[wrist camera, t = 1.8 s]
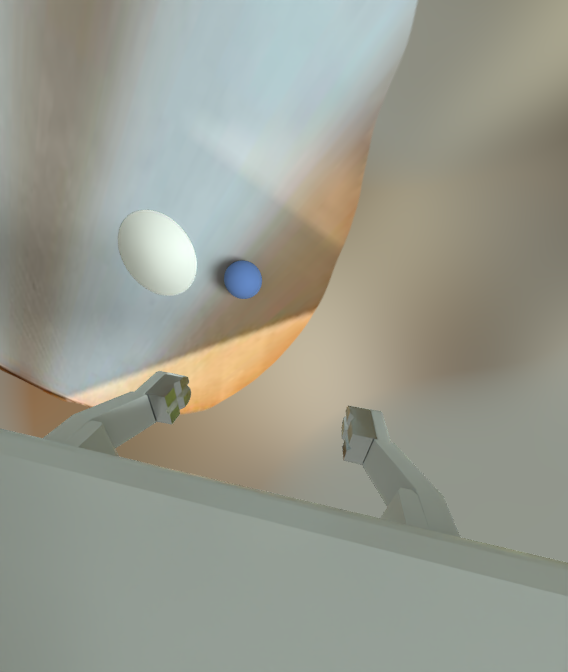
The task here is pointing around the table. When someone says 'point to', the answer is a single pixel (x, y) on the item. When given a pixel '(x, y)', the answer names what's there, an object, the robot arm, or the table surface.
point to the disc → (157, 252)
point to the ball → (243, 279)
